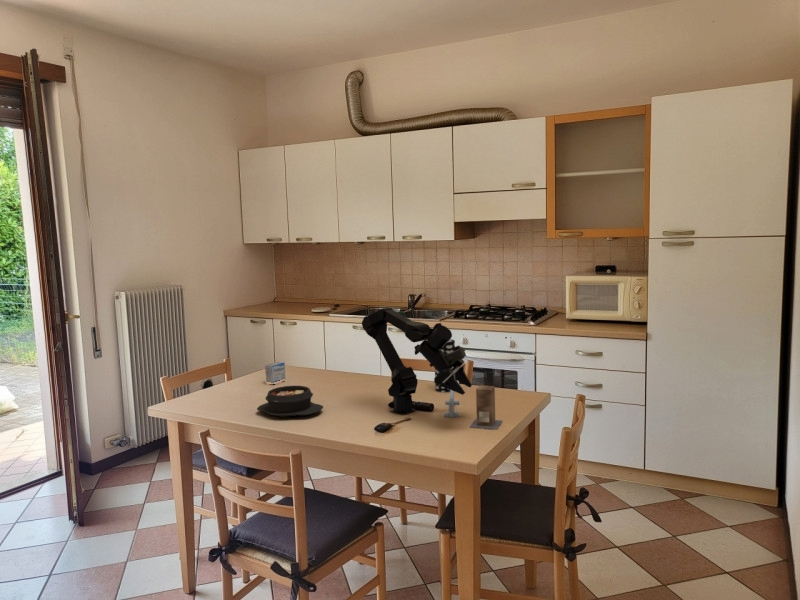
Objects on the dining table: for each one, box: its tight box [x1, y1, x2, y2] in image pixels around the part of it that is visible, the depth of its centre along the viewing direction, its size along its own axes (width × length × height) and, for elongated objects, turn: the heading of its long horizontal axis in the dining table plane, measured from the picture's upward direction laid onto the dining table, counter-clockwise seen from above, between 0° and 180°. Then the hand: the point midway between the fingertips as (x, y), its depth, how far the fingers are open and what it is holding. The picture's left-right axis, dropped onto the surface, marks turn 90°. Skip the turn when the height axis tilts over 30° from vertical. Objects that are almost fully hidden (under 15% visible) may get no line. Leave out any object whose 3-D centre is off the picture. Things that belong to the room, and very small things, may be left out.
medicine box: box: [264, 361, 287, 383], centre depth 264 cm, size 8×4×9 cm, turn 147°
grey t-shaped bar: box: [443, 390, 460, 418], centre depth 214 cm, size 18×5×5 cm, turn 174°
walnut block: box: [475, 384, 496, 426], centre depth 196 cm, size 5×5×12 cm
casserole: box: [256, 385, 324, 417], centre depth 217 cm, size 25×19×8 cm
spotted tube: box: [434, 338, 456, 393], centre depth 241 cm, size 8×8×20 cm
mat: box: [469, 417, 503, 430], centre depth 196 cm, size 9×9×1 cm
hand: (467, 390), depth 198 cm, fingers open, 9 cm apart
